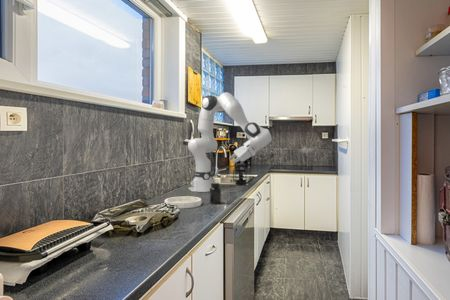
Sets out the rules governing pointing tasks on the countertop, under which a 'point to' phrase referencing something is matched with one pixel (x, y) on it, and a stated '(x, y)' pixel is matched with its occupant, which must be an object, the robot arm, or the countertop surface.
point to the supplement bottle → (215, 193)
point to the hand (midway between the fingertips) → (231, 160)
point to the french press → (240, 175)
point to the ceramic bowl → (184, 201)
